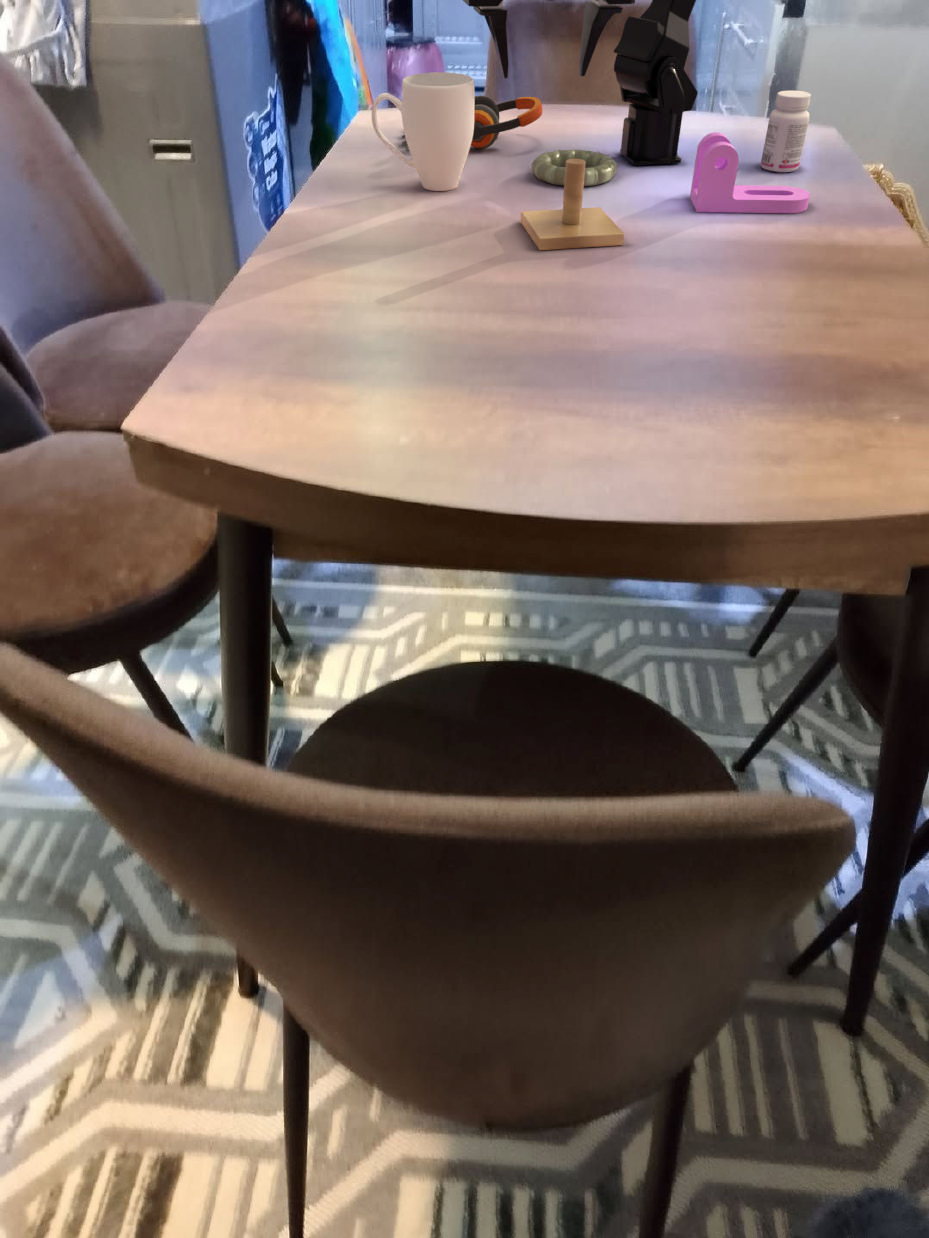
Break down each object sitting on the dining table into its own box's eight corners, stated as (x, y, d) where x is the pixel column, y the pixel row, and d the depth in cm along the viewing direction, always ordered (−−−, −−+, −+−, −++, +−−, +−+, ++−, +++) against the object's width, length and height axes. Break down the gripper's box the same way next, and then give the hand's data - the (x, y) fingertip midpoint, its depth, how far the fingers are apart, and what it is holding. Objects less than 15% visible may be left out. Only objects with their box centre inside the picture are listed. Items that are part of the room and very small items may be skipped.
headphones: (399, 107, 131) (536, 71, 128) (409, 146, 134) (542, 112, 131) (390, 137, 118) (541, 99, 115) (401, 180, 122) (548, 143, 118)
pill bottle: (801, 165, 118) (817, 91, 112) (794, 175, 114) (811, 99, 109) (763, 161, 119) (778, 88, 114) (756, 170, 116) (771, 95, 110)
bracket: (696, 212, 103) (707, 145, 99) (689, 197, 107) (699, 132, 103) (812, 213, 103) (828, 146, 98) (801, 198, 107) (816, 133, 102)
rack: (599, 218, 102) (605, 147, 97) (623, 245, 95) (631, 171, 90) (520, 222, 100) (523, 151, 96) (539, 250, 94) (543, 175, 89)
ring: (601, 163, 119) (603, 146, 117) (626, 186, 111) (627, 168, 110) (524, 167, 117) (524, 150, 116) (543, 190, 110) (544, 172, 108)
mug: (474, 176, 114) (474, 72, 107) (473, 196, 108) (474, 87, 100) (379, 176, 114) (372, 72, 107) (372, 196, 108) (365, 87, 100)
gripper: (477, -87, 89) (476, 93, 99) (660, -88, 91) (640, 89, 102) (461, -93, 98) (461, 74, 108) (629, -94, 100) (613, 70, 110)
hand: (543, 77), depth 107 cm, fingers open, 9 cm apart
